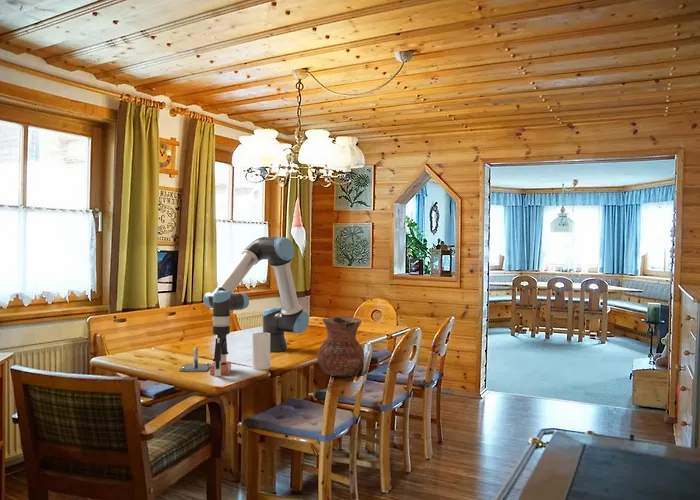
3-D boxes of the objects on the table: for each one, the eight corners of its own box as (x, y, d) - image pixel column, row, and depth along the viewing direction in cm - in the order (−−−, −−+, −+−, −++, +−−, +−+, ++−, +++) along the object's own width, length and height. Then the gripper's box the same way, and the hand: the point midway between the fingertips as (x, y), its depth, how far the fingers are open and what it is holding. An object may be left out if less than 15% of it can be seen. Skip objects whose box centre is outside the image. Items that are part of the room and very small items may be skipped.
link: (231, 370, 250) (231, 361, 250) (228, 374, 242) (228, 365, 242) (213, 370, 250) (213, 361, 250) (210, 374, 242) (210, 365, 242)
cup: (253, 365, 261) (253, 332, 260) (270, 365, 261) (270, 332, 261) (251, 369, 252) (251, 335, 252) (269, 369, 253) (269, 335, 253)
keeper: (211, 365, 259) (211, 345, 259) (206, 371, 248) (206, 350, 247) (185, 365, 259) (185, 345, 259) (179, 371, 247) (179, 350, 247)
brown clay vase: (370, 378, 240) (370, 321, 240) (323, 380, 234) (324, 322, 234) (355, 366, 261) (356, 314, 261) (312, 369, 255) (313, 315, 255)
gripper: (218, 321, 258) (217, 366, 258) (207, 329, 233) (206, 379, 233) (234, 321, 258) (233, 366, 258) (224, 329, 233) (224, 379, 234)
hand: (220, 372), depth 246 cm, fingers open, 13 cm apart
